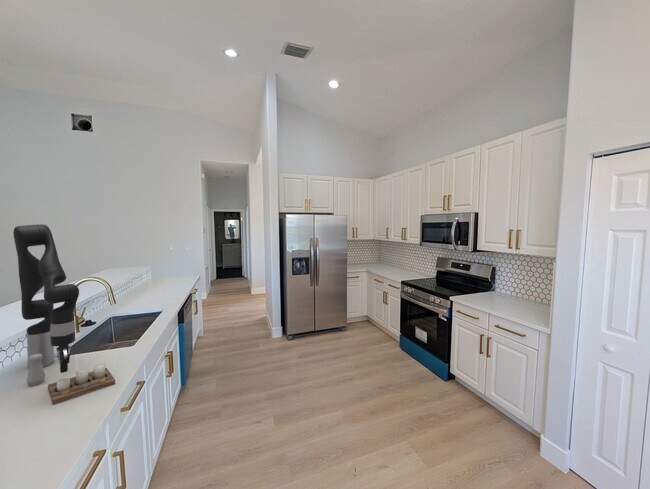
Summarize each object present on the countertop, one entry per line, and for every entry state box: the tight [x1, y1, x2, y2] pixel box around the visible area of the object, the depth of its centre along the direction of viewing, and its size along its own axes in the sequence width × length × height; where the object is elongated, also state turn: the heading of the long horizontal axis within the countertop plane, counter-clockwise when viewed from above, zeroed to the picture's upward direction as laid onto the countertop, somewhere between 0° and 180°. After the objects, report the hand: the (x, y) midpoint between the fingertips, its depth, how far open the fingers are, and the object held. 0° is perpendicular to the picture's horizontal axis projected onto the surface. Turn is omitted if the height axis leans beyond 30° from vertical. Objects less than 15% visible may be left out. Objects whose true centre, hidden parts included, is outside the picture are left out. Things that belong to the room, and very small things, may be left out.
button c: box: [93, 363, 106, 380], centre depth 124 cm, size 4×4×5 cm
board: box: [47, 367, 116, 406], centre depth 120 cm, size 16×20×2 cm
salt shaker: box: [26, 354, 46, 387], centre depth 121 cm, size 6×6×13 cm
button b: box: [75, 368, 89, 385], centre depth 120 cm, size 4×4×5 cm
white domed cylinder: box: [56, 377, 71, 393], centre depth 115 cm, size 4×4×5 cm
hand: (64, 371), depth 115 cm, fingers closed
